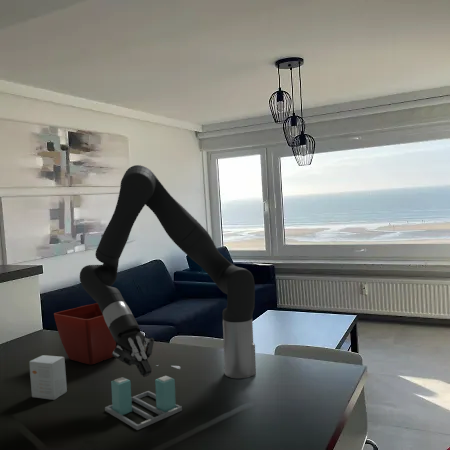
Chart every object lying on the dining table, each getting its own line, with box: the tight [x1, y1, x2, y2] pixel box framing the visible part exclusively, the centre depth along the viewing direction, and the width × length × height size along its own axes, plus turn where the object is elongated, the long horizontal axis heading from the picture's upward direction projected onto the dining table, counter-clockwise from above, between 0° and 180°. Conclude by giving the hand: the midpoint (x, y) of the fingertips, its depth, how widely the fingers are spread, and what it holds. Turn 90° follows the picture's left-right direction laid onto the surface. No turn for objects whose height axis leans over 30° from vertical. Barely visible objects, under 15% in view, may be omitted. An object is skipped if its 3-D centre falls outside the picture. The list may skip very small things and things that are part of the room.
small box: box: [29, 354, 68, 401], centre depth 130 cm, size 8×6×10 cm
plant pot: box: [53, 302, 116, 366], centre depth 161 cm, size 19×19×17 cm
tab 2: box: [154, 375, 177, 413], centre depth 115 cm, size 4×4×8 cm
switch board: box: [104, 390, 183, 431], centre depth 116 cm, size 15×14×2 cm
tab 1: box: [110, 376, 133, 416], centre depth 115 cm, size 4×4×8 cm
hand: (147, 374), depth 119 cm, fingers closed
